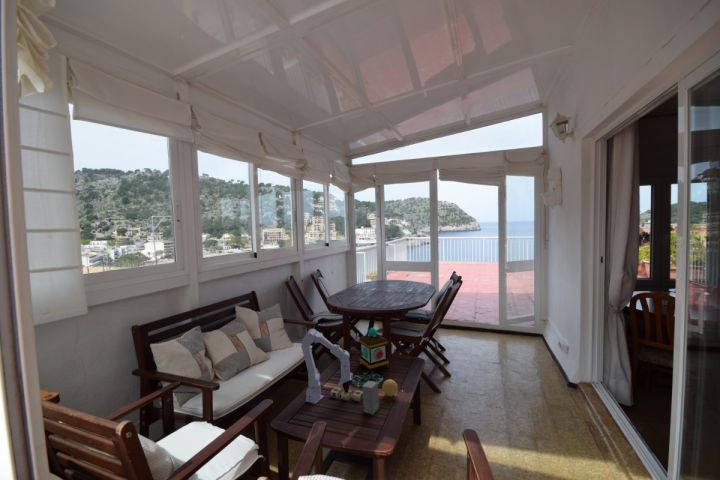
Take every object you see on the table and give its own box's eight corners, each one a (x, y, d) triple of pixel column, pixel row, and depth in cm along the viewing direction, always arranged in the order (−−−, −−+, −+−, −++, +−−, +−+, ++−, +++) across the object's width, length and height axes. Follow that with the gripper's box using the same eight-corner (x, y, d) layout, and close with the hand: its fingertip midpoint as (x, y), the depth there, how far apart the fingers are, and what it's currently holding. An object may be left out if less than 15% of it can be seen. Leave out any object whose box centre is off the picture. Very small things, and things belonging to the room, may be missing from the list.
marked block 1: (337, 398, 201) (337, 392, 200) (330, 396, 203) (330, 390, 203) (341, 394, 205) (341, 388, 205) (335, 392, 208) (334, 387, 207)
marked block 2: (360, 402, 196) (359, 395, 196) (352, 400, 199) (352, 393, 198) (363, 397, 200) (363, 391, 200) (356, 395, 203) (356, 389, 203)
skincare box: (373, 415, 182) (371, 388, 181) (362, 412, 185) (361, 385, 184) (379, 407, 189) (378, 382, 188) (369, 404, 193) (368, 379, 192)
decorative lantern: (356, 364, 247) (355, 326, 245) (378, 358, 256) (376, 321, 254) (369, 374, 229) (367, 334, 227) (392, 367, 239) (390, 329, 237)
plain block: (348, 400, 198) (347, 394, 198) (341, 399, 200) (341, 392, 200) (352, 396, 202) (351, 390, 202) (345, 394, 205) (345, 389, 204)
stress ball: (390, 402, 196) (402, 390, 196) (379, 390, 196) (391, 378, 197) (389, 396, 206) (400, 385, 206) (378, 384, 206) (389, 373, 207)
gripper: (344, 377, 192) (345, 399, 193) (356, 367, 204) (357, 387, 205) (335, 375, 195) (336, 396, 196) (347, 365, 208) (348, 385, 209)
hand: (346, 391), depth 201 cm, fingers closed
